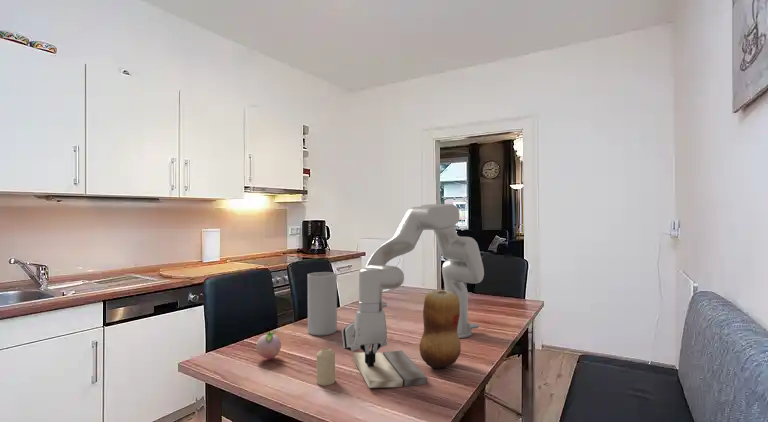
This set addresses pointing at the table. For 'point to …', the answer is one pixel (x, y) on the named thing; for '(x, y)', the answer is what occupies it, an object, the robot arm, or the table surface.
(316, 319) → the cylinder vase
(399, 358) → the floor board
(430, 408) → the table surface
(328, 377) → the candle
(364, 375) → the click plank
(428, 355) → the butternut squash
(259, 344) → the decorative fruit
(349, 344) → the grey flat curved part
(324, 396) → the table surface
